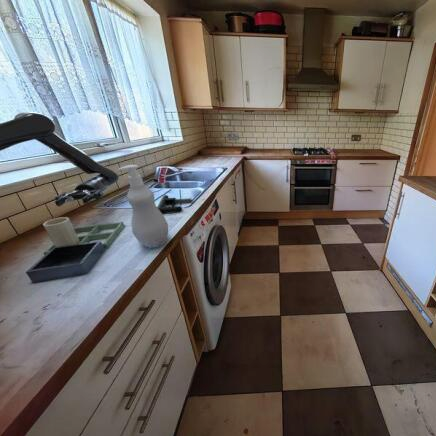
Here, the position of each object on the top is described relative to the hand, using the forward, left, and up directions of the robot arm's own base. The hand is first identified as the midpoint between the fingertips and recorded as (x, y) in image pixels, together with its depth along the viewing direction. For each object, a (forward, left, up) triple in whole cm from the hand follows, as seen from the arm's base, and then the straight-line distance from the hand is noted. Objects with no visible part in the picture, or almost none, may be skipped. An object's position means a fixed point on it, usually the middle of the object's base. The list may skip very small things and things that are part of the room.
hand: (70, 202), depth 88 cm
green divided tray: (+4, -7, -14) cm, 16 cm away
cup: (0, -11, -14) cm, 18 cm away
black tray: (+6, -24, -14) cm, 28 cm away
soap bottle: (+29, -16, -14) cm, 36 cm away
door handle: (+31, +20, -14) cm, 40 cm away
